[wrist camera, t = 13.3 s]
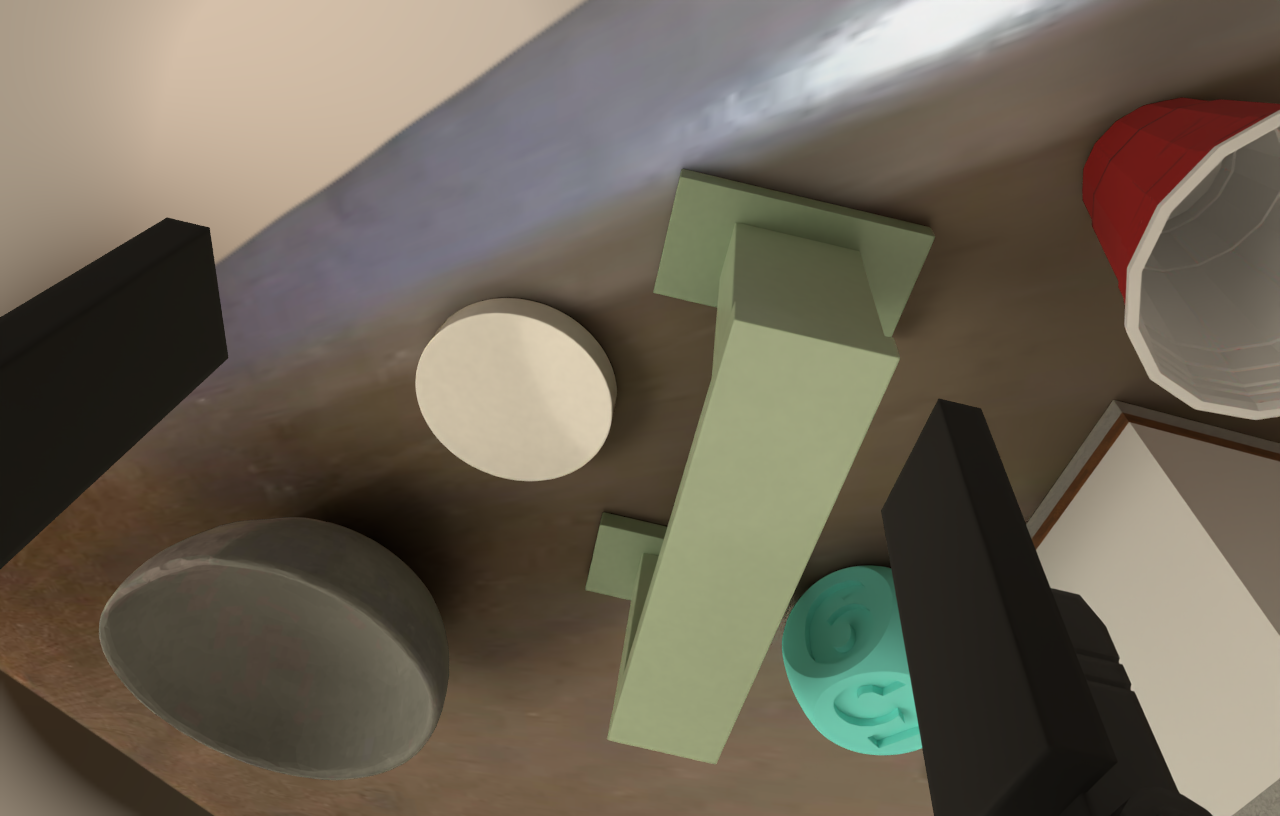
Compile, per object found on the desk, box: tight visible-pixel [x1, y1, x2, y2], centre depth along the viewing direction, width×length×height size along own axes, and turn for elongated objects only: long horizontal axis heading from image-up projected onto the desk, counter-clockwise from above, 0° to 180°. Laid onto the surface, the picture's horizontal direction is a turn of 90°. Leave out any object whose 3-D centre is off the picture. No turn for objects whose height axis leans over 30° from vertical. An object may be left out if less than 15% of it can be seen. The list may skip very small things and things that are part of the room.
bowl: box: [99, 517, 449, 780], centre depth 51 cm, size 20×20×10 cm
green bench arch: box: [585, 169, 935, 764], centre depth 40 cm, size 28×12×12 cm, turn 169°
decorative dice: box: [782, 565, 922, 755], centre depth 48 cm, size 8×8×8 cm
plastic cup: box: [1082, 98, 1280, 420], centre depth 29 cm, size 11×11×12 cm
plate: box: [416, 298, 617, 481], centre depth 44 cm, size 11×11×2 cm
